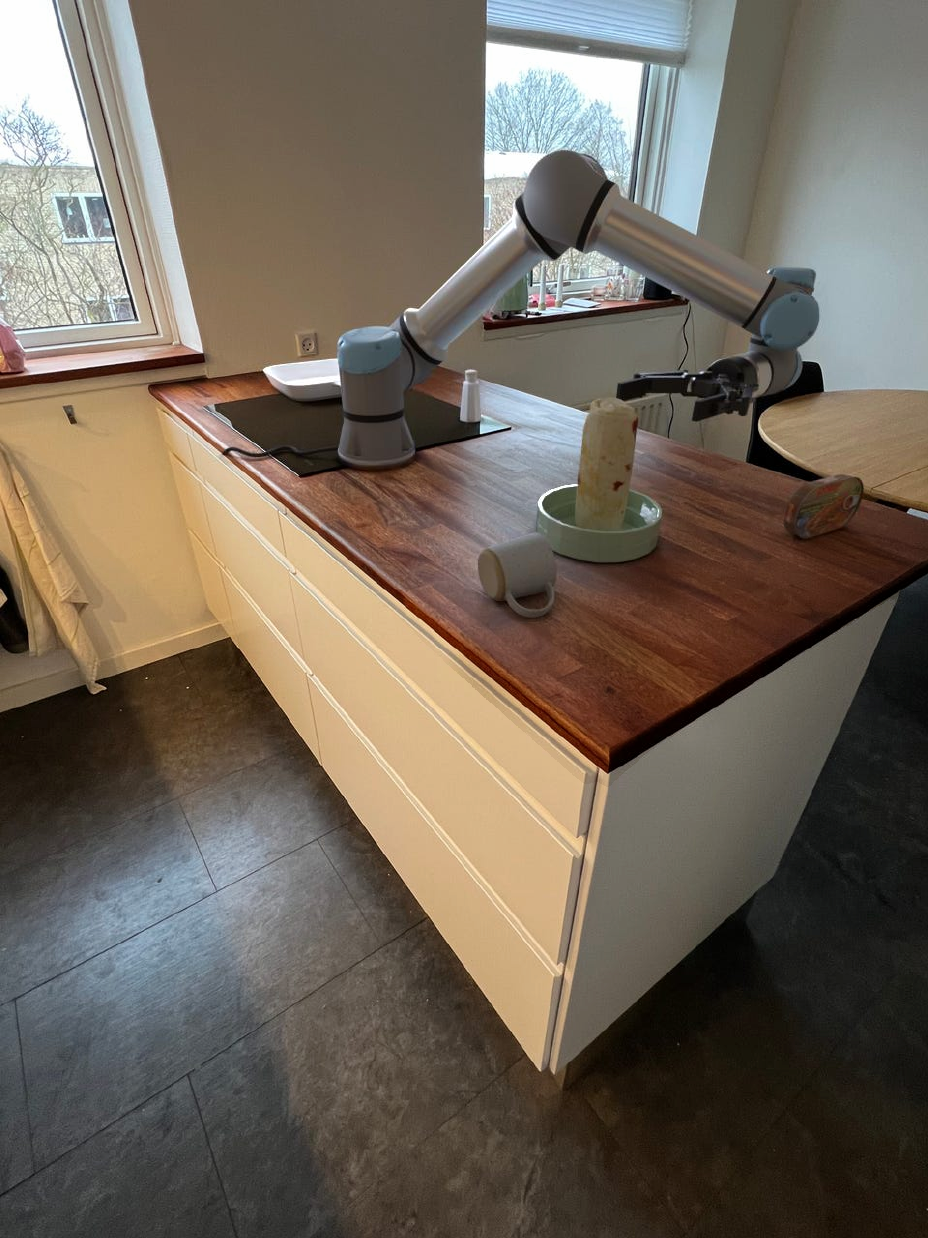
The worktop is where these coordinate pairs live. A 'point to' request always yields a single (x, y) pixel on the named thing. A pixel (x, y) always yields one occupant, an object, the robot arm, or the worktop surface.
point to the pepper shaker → (470, 398)
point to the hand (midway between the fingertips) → (655, 401)
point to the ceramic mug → (519, 571)
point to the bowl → (593, 544)
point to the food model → (605, 465)
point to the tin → (823, 505)
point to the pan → (306, 379)
